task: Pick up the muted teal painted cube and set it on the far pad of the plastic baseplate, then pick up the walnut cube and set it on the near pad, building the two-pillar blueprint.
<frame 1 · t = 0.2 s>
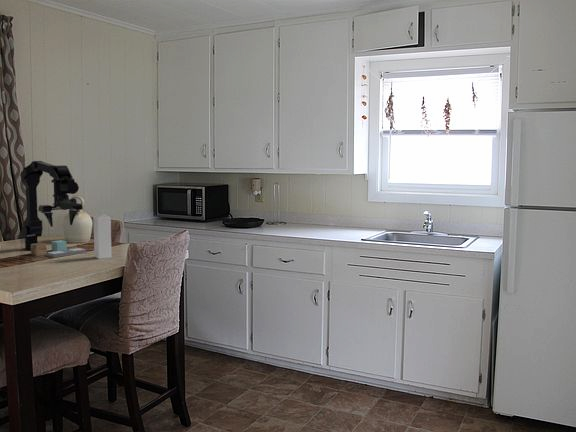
hand: (61, 225, 267), 14 cm above the table, fingers open, 9 cm apart
jug: (77, 241, 311), on the table
baseplate: (66, 254, 273), on the table
walnut block: (38, 254, 272), on the table
milk: (103, 257, 265), on the table
teal block: (59, 251, 280), on the table
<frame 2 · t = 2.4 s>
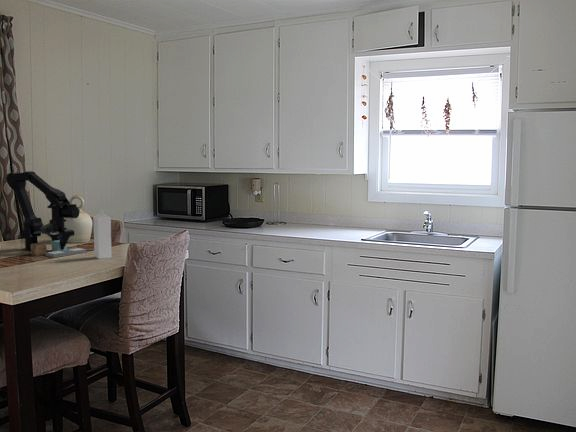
hand: (59, 249, 280), 1 cm above the table, fingers closed on teal block, 5 cm apart
teal block: (59, 251, 280), on the table, touching gripper
everything else where it was.
when the fingers open (3 cm above the table, at t = 5.9 s): teal block stays where it is, resting on baseplate.
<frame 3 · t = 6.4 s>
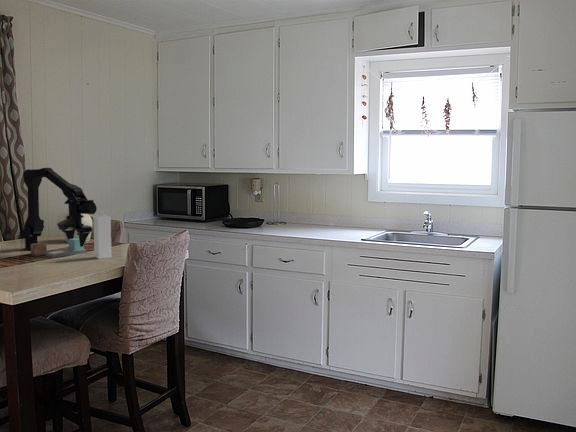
hand: (76, 245, 276), 3 cm above the table, fingers open, 9 cm apart
teal block: (76, 249, 277), point 2 cm above the table, touching baseplate
everything else where it was.
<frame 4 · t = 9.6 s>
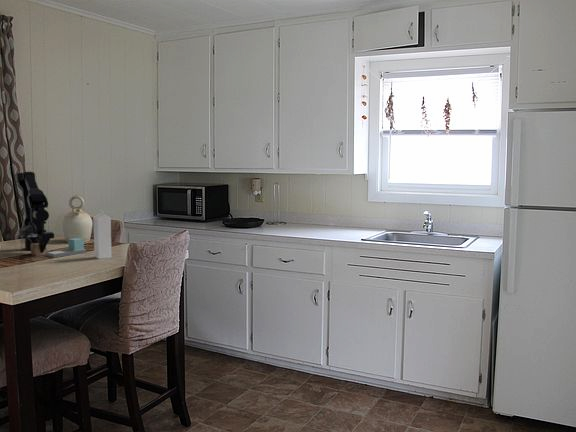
hand: (38, 252, 272), 1 cm above the table, fingers closed on walnut block, 5 cm apart
walnut block: (38, 254, 272), on the table, touching gripper
everything else where it was.
when the fingers open (3 cm above the table, at t = 13.2 s): walnut block stays where it is, resting on baseplate.
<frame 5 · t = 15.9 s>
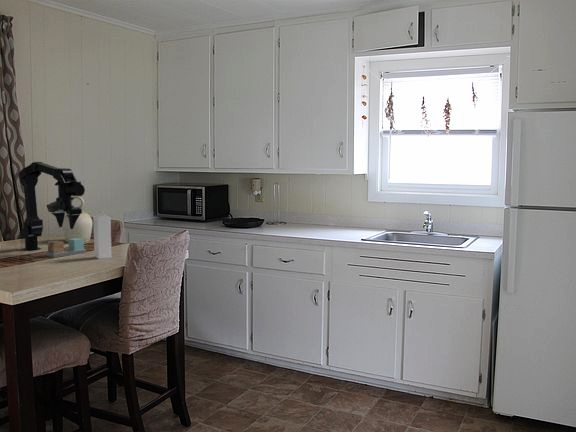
hand: (66, 228, 271), 12 cm above the table, fingers open, 9 cm apart
walnut block: (56, 252, 268), point 2 cm above the table, touching baseplate
everything else where it was.
at the end: teal block 0.1 cm from the target spot on the baseplate, point 1.6 cm above the baseplate's base; walnut block 0.1 cm from the target spot on the baseplate, point 1.6 cm above the baseplate's base; walnut block tilted 0° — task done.
